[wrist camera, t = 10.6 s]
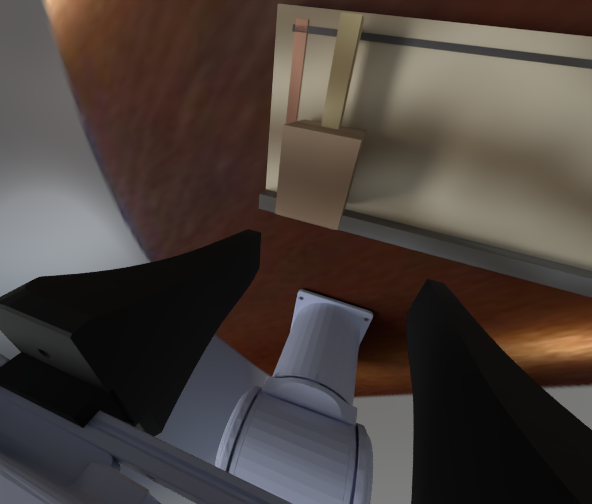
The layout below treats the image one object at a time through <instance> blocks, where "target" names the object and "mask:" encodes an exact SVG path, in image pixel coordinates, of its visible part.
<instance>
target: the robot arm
mask: <svg viewBox="0 0 592 504" xmlns="http://www.w3.org/2000/svg"><path fill="white" fill-rule="evenodd" d="M260 243H261V233H260V232H257V231H253V230H249V229H248V230H245V231H242V232H240V233H237V234H235V235H232V236H230V237H228V238H225V239H223V240H220V241H218V242H215V243H213V244H210V245H208V246H205V247H202V248H199V249H196V250H193V251H191V252H188V253H185V254H182V255H178V256H175V257H171V258H167V259H164V260H160V261H156V262H151V263H146V264H141V265H136V266H131V267H126V268H120V269H114V270H106V271H99V272H90V273H80V274H70V275H69V274H68V275H57V276H43V277H38V278H36V279H34V280H32V281H30V282H28V283H26V284H24V285H22V286H20V287H18V288H17V289H15V290H13V291H11V292H9V293H7V294H5V295H3V296H1V297H0V330H1V331H2V332H3V333H4V335H5V336H6V337H7V338H8V339H9V340H10V341H11V342H12V343H13V344H14V345H15V346H16V347H17V348H18V349H19V350H20V351H21V353H20V354H18V355H17V356H15V357H14V358H13V359H11V360H9V359H8V358H6V357H5V356H3V355H2V354H0V504H161V503H160V502H158V501H157V500H156V499H155V498H154V497H153V496H151V494H150V493H149V491H148V489H146V488H145V487H143V486H141V485H140V484H138V483H136V482H135V481H133V480H131V479H130V478H128V477H126V476H125V475H123V474H122V473H120V464H122V465H124V466H126V467H128V468H130V469H131V470H134V471H135V472H137V473H139V474H141V475H143V476H145V477H147V478H149V479H151V480H153V481H154V482H156V483H158V484H160V485H162V486H164V487H166V488H168V489H170V490H172V491H174V492H175V493H177V494H179V495H181V496H183V497H185V498H187V499H189V500H191V501H193V502H195V503H197V504H370V500H371V491H372V478H373V452H372V444H371V440H370V438H369V436H368V434H367V432H366V429H365V427H364V426H363V425H361V424H358V423H356V416H357V408H356V407H354V406H353V399H354V389H355V379H356V369H357V360H358V350H359V345H360V343H361V341H362V339H363V337H364V335H365V333H366V331H367V329H368V327H369V324H370V322H371V320H372V318H373V313H372V312H371V311H369V310H366V309H363V308H359V307H356V306H353V305H350V304H347V303H344V302H341V301H338V300H334V299H331V298H328V297H325V296H322V295H319V294H316V293H313V292H309V291H306V290H303V289H301V290H299V292H298V295H297V300H296V305H295V310H294V315H293V320H292V325H291V331H290V334H289V337H288V339H287V342H286V344H285V346H284V349H283V351H282V354H281V356H280V359H279V361H278V364H277V366H276V369H275V371H274V374H273V376H272V377H270V376H267V378H266V380H265V382H264V385H263V387H262V388H261V387H258V386H254V387H253V388H252V389H251V390H249V391H247V392H246V393H245V394H244V395H243V396H242V397H241V398H240V400H239V402H238V403H237V405H236V407H235V409H234V411H233V413H232V415H231V417H230V419H229V422H228V424H227V426H226V428H225V431H224V434H223V436H222V439H221V443H220V445H219V449H218V453H217V457H216V463H215V466H214V465H212V464H209V463H207V462H205V461H203V460H201V459H199V458H197V457H195V456H193V455H191V454H189V453H187V452H185V451H183V450H181V449H178V448H176V447H174V446H172V445H170V444H168V443H166V442H164V441H162V440H160V439H158V438H156V437H154V436H156V435H158V434H159V433H161V432H162V430H163V428H164V426H165V424H166V422H167V420H168V418H169V416H170V414H171V412H172V410H173V408H174V406H175V404H176V402H177V400H178V398H179V396H180V394H181V392H182V391H183V389H184V387H185V385H186V383H187V381H188V379H189V378H190V376H191V374H192V372H193V370H194V368H195V367H196V365H197V363H198V361H199V360H200V358H201V356H202V354H203V352H204V351H205V349H206V347H207V345H208V344H209V342H210V341H211V339H212V337H213V336H214V334H215V332H216V331H217V329H218V328H219V326H220V325H221V323H222V322H223V320H224V319H225V318H226V316H227V315H228V314H229V312H230V311H231V310H232V309H233V307H234V306H235V305H236V303H237V302H238V301H239V299H240V298H241V297H242V295H243V294H244V292H245V291H246V290H247V288H248V287H249V286H250V284H251V282H252V281H253V279H254V277H255V275H256V273H257V271H258V270H259V265H260ZM302 297H303V298H302ZM366 318H368V319H366ZM406 337H407V347H408V356H409V364H410V373H411V381H412V390H413V406H414V407H413V408H414V409H413V411H414V412H413V413H414V441H413V442H414V443H413V479H412V501H411V504H592V430H591V429H590V428H589V427H587V426H586V425H585V424H584V423H582V422H581V421H580V420H579V419H577V418H576V417H575V416H574V415H573V414H572V413H570V412H569V411H568V410H567V409H566V408H565V407H563V406H562V405H561V404H560V403H559V402H557V401H556V400H555V399H554V398H553V397H552V396H550V395H549V394H548V393H547V392H546V391H545V390H544V389H543V388H542V387H540V386H539V385H538V384H537V383H536V382H535V381H534V380H533V379H532V378H531V377H530V376H529V375H528V374H527V373H525V372H524V371H523V370H522V369H521V368H520V367H519V366H518V365H517V364H516V363H515V362H514V361H513V360H512V359H511V358H510V357H509V356H508V355H507V354H506V353H505V352H504V351H503V350H502V349H501V348H500V347H499V346H498V345H497V343H496V342H495V341H494V340H493V339H492V338H491V337H490V336H489V335H488V334H487V333H486V332H485V330H484V329H483V328H482V327H481V326H480V325H479V324H478V323H477V321H476V320H475V319H474V318H473V317H472V316H471V314H470V313H469V312H468V311H467V310H466V309H465V307H464V306H463V305H462V304H461V303H460V301H459V300H458V299H457V298H456V297H455V295H454V294H453V293H452V292H451V291H450V290H449V289H448V287H447V286H446V285H445V284H444V283H441V282H437V281H433V280H430V279H427V280H426V282H425V284H424V285H423V287H422V289H421V290H420V292H419V294H418V295H417V297H416V299H415V300H414V302H413V304H412V306H411V307H410V309H409V311H408V312H407V327H406ZM119 463H120V464H119Z"/></svg>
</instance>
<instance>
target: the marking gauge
mask: <svg viewBox="0 0 592 504" xmlns="http://www.w3.org/2000/svg"><path fill="white" fill-rule="evenodd" d="M363 23H364V18H363V15H362V14H353V13H344V12H341V14H340V20H339V26H338V32H337V37H336V43H335V49H334V55H333V60H332V66H331V72H330V77H329V83H328V89H327V95H326V100H325V106H324V112H323V118H322V123H321V122H316V121H311V120H305V119H304V120H300V121H296V122H292V123H288V124H284V125H283V133H282V144H281V154H280V165H279V176H278V187H277V197H276V208H275V214H278V215H282V216H286V217H289V218H293V219H297V220H301V221H304V222H308V223H312V224H315V225H319V226H323V227H327V228H330V229H334V230H338V227H339V224H340V221H341V218H342V216H343V213H344V210H345V207H346V204H347V200H348V197H349V193H350V189H351V186H352V182H353V178H354V175H355V171H356V168H357V164H358V160H359V157H360V153H361V149H362V146H363V142H364V138H365V135H366V131H363V130H358V129H353V128H347V127H342V126H341V124H342V120H343V115H344V110H345V106H346V101H347V97H348V92H349V87H350V83H351V78H352V74H353V69H354V64H355V60H356V55H357V51H358V46H359V41H360V37H361V32H362V28H363Z"/></svg>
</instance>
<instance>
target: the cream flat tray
mask: <svg viewBox="0 0 592 504" xmlns="http://www.w3.org/2000/svg"><path fill="white" fill-rule="evenodd" d="M341 12H344V13H353V14H362V15H363V18H364V23H363V28H362V32H361V37H360V41H359V46H358V51H357V55H356V60H355V64H354V69H353V74H352V78H351V83H350V87H349V92H348V97H347V101H346V106H345V110H344V115H343V120H342V124H341V126H342V127H347V128H353V129H358V130H363V131H366V135H365V138H364V142H363V146H362V149H361V153H360V157H359V160H358V164H357V168H356V171H355V175H354V178H353V182H352V186H351V189H350V193H349V197H348V200H347V204H346V207H345V210H344V213H343V216H342V218H341V221H340V224H339V227H338V230H341V231H345V232H349V233H353V234H356V235H360V236H364V237H368V238H371V239H375V240H379V241H383V242H386V243H390V244H394V245H397V246H401V247H405V248H409V249H412V250H416V251H420V252H424V253H427V254H431V255H435V256H439V257H442V258H446V259H450V260H453V261H457V262H461V263H465V264H468V265H472V266H476V267H480V268H483V269H487V270H491V271H495V272H498V273H502V274H506V275H510V276H513V277H517V278H521V279H524V280H528V281H532V282H536V283H539V284H543V285H547V286H551V287H554V288H558V289H562V290H566V291H569V292H573V293H577V294H581V295H584V296H588V297H592V37H588V36H579V35H569V34H560V33H551V32H541V31H532V30H522V29H513V28H503V27H494V26H484V25H475V24H465V23H456V22H446V21H437V20H427V19H418V18H408V17H399V16H389V15H380V14H370V13H361V12H351V11H342V10H332V9H323V8H313V7H304V6H294V5H285V4H278V10H277V25H276V41H275V56H274V71H273V87H272V102H271V118H270V133H269V149H268V164H267V180H266V190H264V191H263V192H262V193H260V196H259V209H263V210H267V211H270V212H274V213H275V208H276V197H277V187H278V176H279V165H280V154H281V144H282V133H283V125H284V124H288V123H292V122H296V121H300V120H304V119H305V120H311V121H316V122H321V123H322V118H323V112H324V106H325V100H326V95H327V89H328V83H329V77H330V72H331V66H332V60H333V55H334V49H335V43H336V37H337V32H338V26H339V20H340V14H341Z"/></svg>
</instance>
